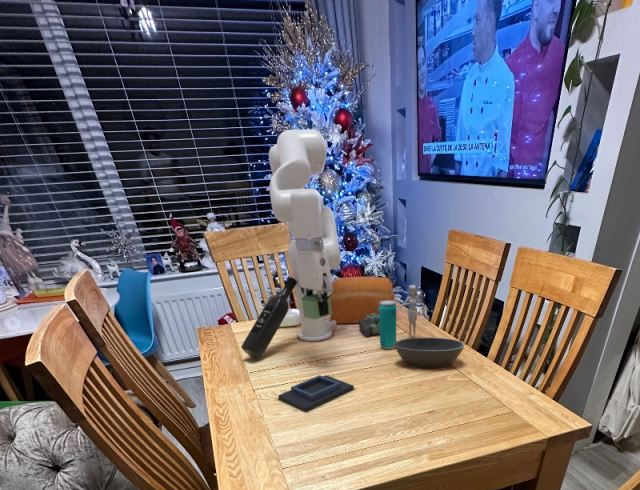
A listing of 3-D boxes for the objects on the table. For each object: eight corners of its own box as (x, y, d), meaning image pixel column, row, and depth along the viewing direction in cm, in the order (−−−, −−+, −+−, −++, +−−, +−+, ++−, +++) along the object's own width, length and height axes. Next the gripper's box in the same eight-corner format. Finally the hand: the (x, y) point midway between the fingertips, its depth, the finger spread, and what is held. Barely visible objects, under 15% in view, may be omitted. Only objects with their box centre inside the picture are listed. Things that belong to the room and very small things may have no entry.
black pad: (326, 378, 131) (325, 369, 129) (353, 389, 125) (353, 380, 123) (278, 399, 121) (276, 390, 119) (306, 411, 114) (304, 402, 113)
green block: (321, 311, 134) (319, 293, 131) (332, 314, 132) (330, 295, 128) (304, 316, 130) (301, 297, 127) (314, 319, 128) (312, 299, 124)
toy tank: (383, 325, 169) (382, 307, 165) (392, 335, 160) (392, 316, 156) (358, 329, 167) (357, 310, 163) (366, 338, 158) (365, 319, 154)
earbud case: (271, 321, 178) (269, 308, 174) (303, 319, 179) (301, 306, 175) (269, 329, 170) (267, 315, 166) (302, 327, 171) (300, 313, 167)
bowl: (463, 371, 132) (465, 351, 129) (392, 370, 135) (392, 350, 131) (462, 356, 142) (464, 337, 138) (396, 355, 144) (396, 337, 140)
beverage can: (399, 345, 152) (398, 300, 142) (392, 351, 148) (391, 305, 138) (384, 343, 154) (383, 299, 144) (377, 348, 150) (375, 303, 140)
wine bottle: (251, 350, 139) (294, 275, 143) (239, 346, 142) (282, 272, 145) (261, 360, 144) (303, 287, 148) (249, 357, 147) (291, 285, 150)
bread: (394, 323, 171) (394, 280, 161) (329, 324, 172) (325, 282, 162) (395, 313, 182) (394, 272, 172) (333, 314, 183) (330, 274, 173)
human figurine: (396, 341, 155) (395, 287, 144) (395, 337, 158) (394, 284, 147) (429, 339, 156) (431, 285, 144) (427, 336, 159) (429, 283, 147)
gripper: (340, 245, 117) (346, 315, 128) (300, 241, 126) (309, 306, 137) (319, 248, 113) (327, 320, 124) (280, 244, 122) (290, 312, 133)
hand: (317, 312), depth 130 cm, fingers closed on green block, 5 cm apart
